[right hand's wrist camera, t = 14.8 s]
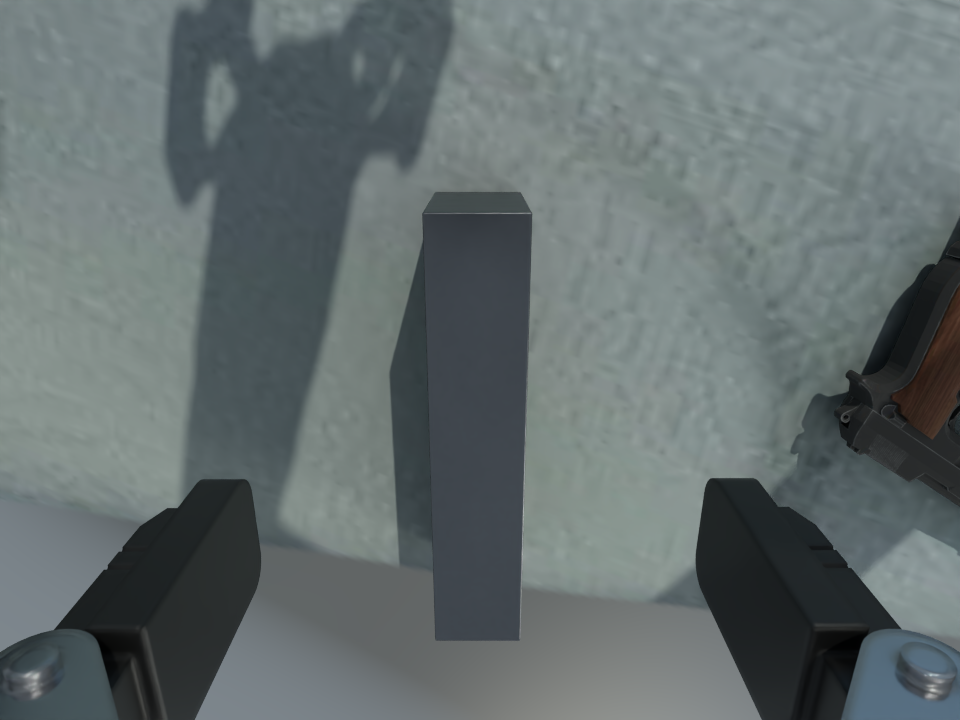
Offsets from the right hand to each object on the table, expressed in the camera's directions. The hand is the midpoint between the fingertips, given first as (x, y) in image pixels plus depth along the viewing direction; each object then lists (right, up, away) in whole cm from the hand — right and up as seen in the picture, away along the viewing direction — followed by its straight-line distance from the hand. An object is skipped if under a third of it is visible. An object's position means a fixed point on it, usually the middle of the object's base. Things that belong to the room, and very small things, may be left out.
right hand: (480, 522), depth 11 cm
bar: (0, +1, +29) cm, 29 cm away
